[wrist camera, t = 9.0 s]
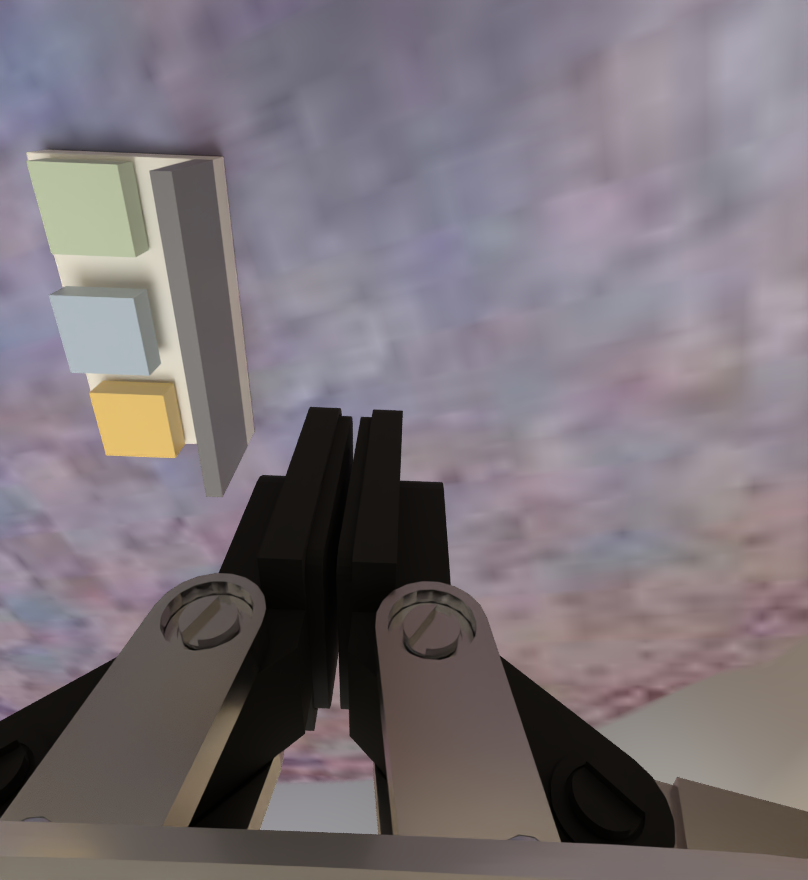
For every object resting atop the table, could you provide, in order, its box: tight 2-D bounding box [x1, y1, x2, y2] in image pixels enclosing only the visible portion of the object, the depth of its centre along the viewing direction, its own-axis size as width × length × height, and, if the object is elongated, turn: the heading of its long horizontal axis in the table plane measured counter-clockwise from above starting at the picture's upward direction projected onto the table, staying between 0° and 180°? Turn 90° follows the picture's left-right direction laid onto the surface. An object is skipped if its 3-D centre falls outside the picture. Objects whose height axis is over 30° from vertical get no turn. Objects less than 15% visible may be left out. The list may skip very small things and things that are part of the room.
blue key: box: [49, 286, 161, 376], centre depth 33 cm, size 5×5×2 cm
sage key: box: [26, 158, 149, 258], centre depth 31 cm, size 5×5×2 cm
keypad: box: [26, 150, 255, 497], centre depth 34 cm, size 18×10×8 cm, turn 178°
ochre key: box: [89, 381, 185, 458], centre depth 37 cm, size 5×5×2 cm
